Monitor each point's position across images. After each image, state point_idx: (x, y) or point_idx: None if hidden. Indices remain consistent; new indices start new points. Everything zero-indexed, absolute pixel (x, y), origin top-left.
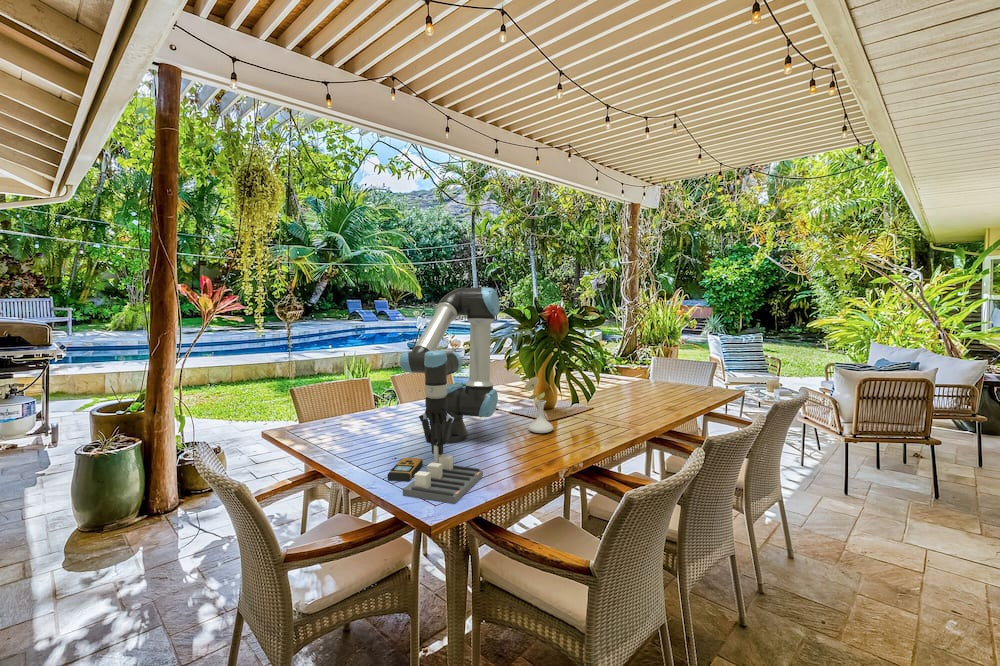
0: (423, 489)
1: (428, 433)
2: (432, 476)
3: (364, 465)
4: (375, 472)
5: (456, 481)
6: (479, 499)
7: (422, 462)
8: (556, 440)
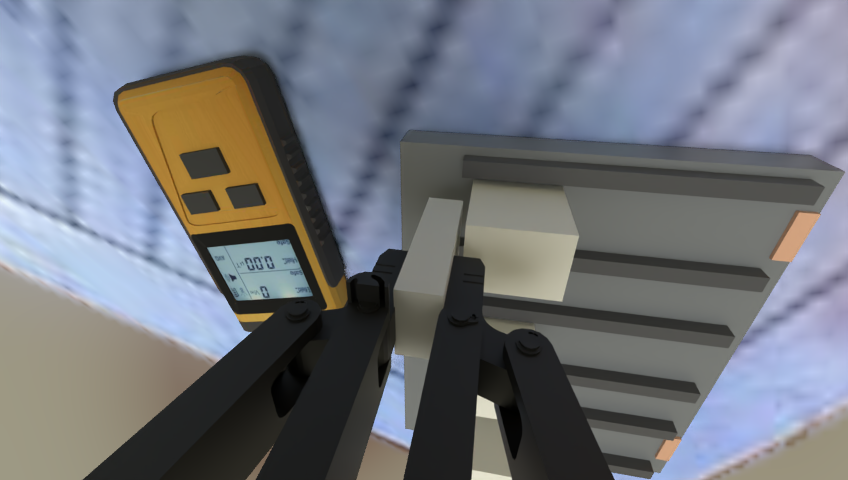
0: None
1: (260, 437)
2: None
3: (7, 169)
4: (136, 238)
5: (646, 387)
6: (772, 414)
7: (263, 80)
8: None
